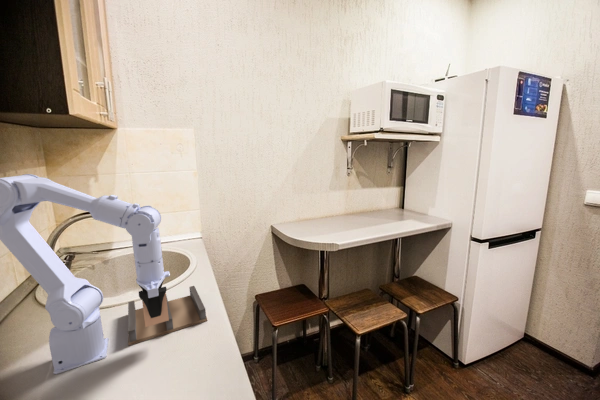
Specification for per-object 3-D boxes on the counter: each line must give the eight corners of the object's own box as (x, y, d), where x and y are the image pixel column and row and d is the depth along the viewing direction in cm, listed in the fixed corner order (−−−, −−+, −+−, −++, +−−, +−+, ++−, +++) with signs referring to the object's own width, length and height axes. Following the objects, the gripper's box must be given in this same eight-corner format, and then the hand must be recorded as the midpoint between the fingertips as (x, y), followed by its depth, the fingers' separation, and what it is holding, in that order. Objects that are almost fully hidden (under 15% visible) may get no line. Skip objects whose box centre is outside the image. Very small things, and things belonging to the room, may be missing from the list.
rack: (128, 345, 69) (126, 331, 68) (129, 314, 83) (127, 302, 82) (207, 320, 79) (206, 308, 78) (195, 296, 92) (195, 285, 92)
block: (145, 327, 65) (142, 299, 64) (144, 318, 69) (141, 292, 68) (168, 320, 68) (165, 293, 67) (167, 312, 71) (164, 286, 70)
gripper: (170, 265, 61) (176, 321, 64) (164, 246, 74) (170, 294, 76) (133, 273, 58) (141, 332, 60) (133, 251, 70) (140, 301, 73)
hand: (155, 311), depth 68 cm, fingers closed on block, 4 cm apart
